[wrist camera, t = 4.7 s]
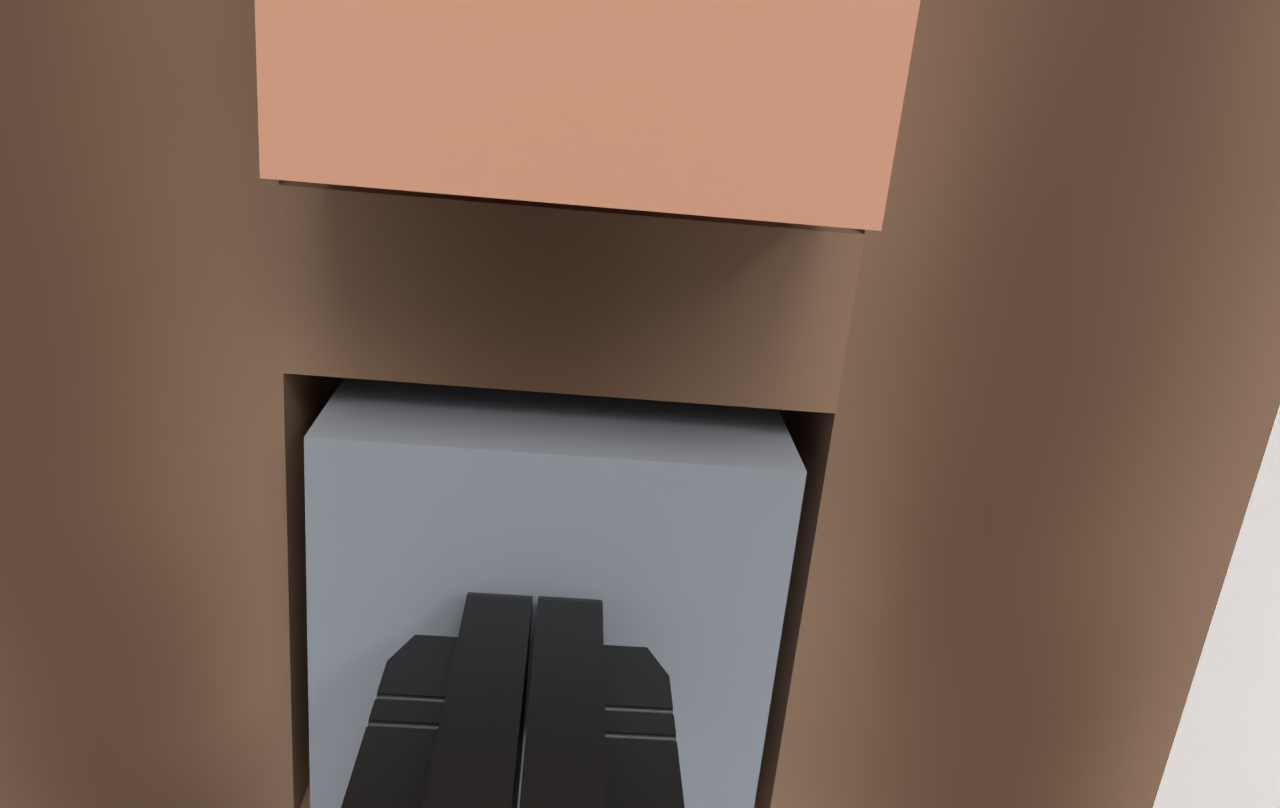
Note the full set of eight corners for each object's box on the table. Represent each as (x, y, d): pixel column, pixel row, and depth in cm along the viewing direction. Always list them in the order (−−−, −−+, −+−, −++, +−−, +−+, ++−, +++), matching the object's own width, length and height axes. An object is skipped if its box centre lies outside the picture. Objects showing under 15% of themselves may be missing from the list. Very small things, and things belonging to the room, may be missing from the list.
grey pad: (764, 378, 14) (806, 471, 11) (718, 711, 16) (745, 862, 13) (364, 349, 14) (303, 438, 11) (362, 691, 16) (310, 843, 13)
